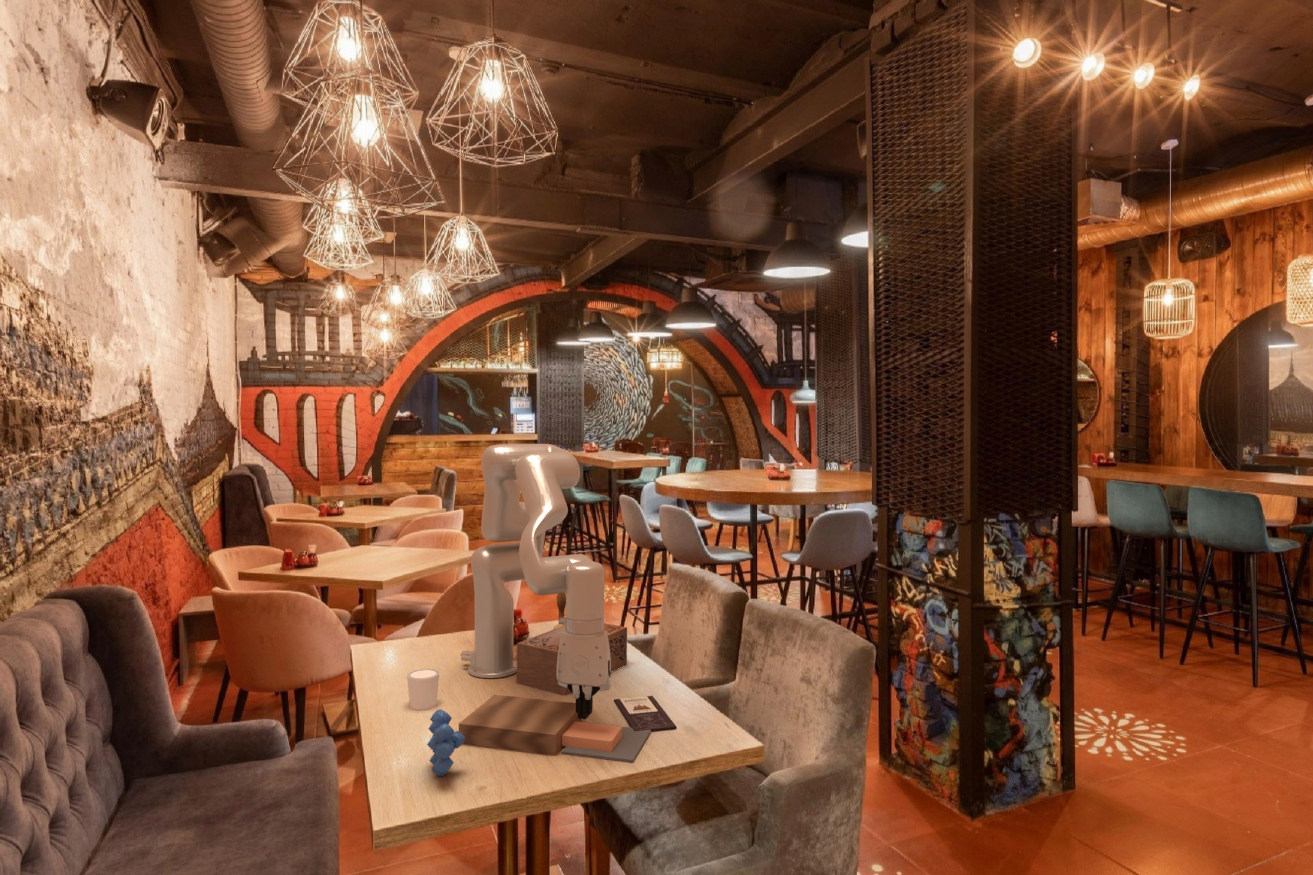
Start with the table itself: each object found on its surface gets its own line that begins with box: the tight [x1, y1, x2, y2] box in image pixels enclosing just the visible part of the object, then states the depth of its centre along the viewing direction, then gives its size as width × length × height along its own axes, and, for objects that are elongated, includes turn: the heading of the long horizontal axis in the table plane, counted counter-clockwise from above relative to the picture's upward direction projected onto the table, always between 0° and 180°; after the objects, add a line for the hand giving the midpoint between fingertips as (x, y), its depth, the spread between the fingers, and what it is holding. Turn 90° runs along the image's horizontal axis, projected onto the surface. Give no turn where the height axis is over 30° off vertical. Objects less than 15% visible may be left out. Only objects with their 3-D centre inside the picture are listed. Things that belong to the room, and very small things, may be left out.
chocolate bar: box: [613, 695, 678, 733], centre depth 166 cm, size 9×1×18 cm
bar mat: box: [561, 722, 652, 764], centre depth 152 cm, size 14×14×1 cm
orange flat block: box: [562, 722, 623, 752], centre depth 151 cm, size 10×7×2 cm
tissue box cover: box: [516, 622, 628, 697], centre depth 191 cm, size 26×14×10 cm, turn 149°
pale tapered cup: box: [406, 668, 440, 711], centre depth 170 cm, size 7×7×7 cm
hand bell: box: [552, 592, 566, 630], centre depth 214 cm, size 8×8×16 cm
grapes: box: [427, 709, 466, 777], centre depth 138 cm, size 12×7×12 cm, turn 24°
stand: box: [458, 694, 584, 756], centre depth 156 cm, size 20×16×4 cm
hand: (584, 716), depth 153 cm, fingers closed
